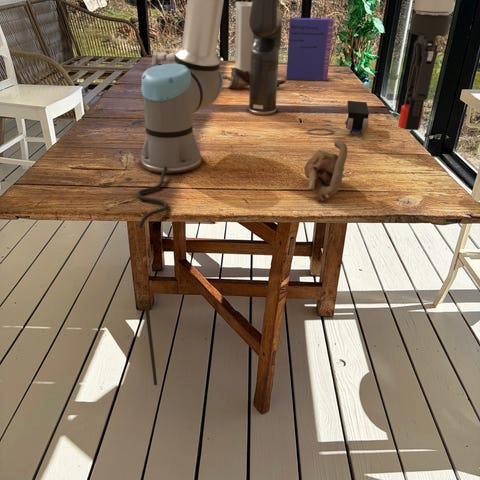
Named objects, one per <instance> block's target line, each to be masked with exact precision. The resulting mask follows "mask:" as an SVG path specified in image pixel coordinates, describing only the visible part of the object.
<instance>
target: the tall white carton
mask: <svg viewBox="0 0 480 480" xmlns="http://www.w3.org/2000/svg"><path fill="white" fill-rule="evenodd" d="M251 6H252V1H235V59H234V60H235V62H234V63H235V65H234V66H235V67H234V68H237V69H240V70H242V71H244V72H245V71H249V72H250V52H251V48H252V44H253V33H252V31H251V29H250V26H249V16H250V11H251Z"/></svg>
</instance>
